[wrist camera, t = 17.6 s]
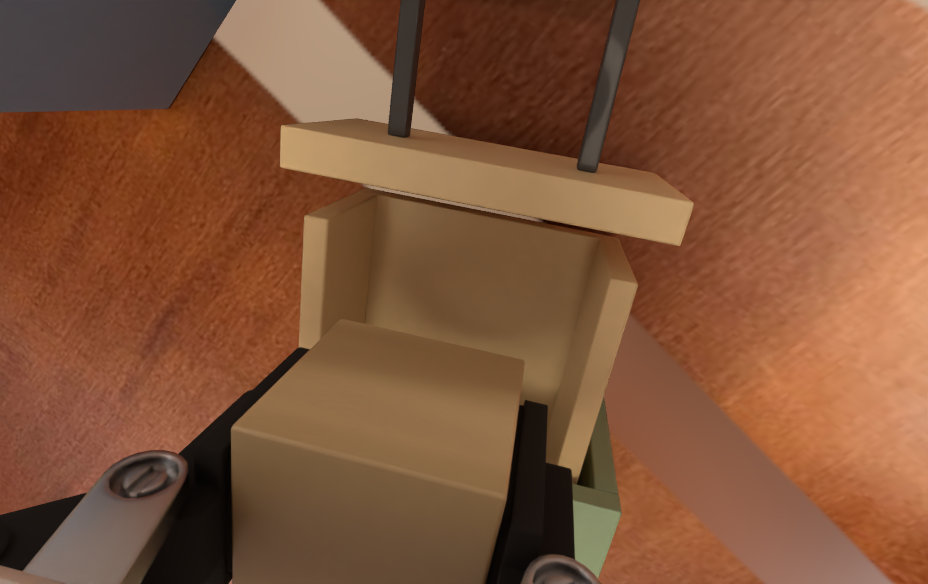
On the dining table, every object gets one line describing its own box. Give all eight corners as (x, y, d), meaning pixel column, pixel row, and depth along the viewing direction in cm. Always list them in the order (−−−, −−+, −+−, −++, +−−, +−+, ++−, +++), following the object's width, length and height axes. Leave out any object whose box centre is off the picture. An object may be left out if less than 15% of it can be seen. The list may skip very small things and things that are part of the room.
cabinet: (335, 324, 24) (242, 417, 17) (603, 386, 23) (622, 513, 16) (319, 550, 29) (244, 690, 22) (534, 610, 28) (526, 779, 21)
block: (340, 317, 12) (228, 426, 8) (525, 358, 12) (507, 497, 8) (329, 465, 14) (231, 619, 10) (491, 507, 13) (460, 688, 9)
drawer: (370, -73, 17) (285, -150, 12) (714, -24, 16) (791, -85, 11) (334, 409, 25) (271, 495, 19) (568, 467, 23) (571, 575, 18)
